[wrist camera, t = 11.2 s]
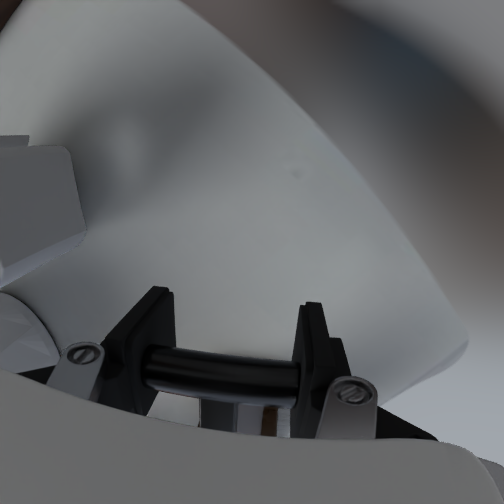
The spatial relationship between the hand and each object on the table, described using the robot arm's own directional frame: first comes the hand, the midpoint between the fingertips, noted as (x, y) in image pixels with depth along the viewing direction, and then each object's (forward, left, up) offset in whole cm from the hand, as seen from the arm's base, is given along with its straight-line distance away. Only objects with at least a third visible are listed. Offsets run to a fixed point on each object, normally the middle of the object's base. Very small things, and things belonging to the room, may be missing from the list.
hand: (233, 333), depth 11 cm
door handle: (+5, +4, +2) cm, 7 cm away
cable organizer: (+7, -13, -7) cm, 16 cm away
